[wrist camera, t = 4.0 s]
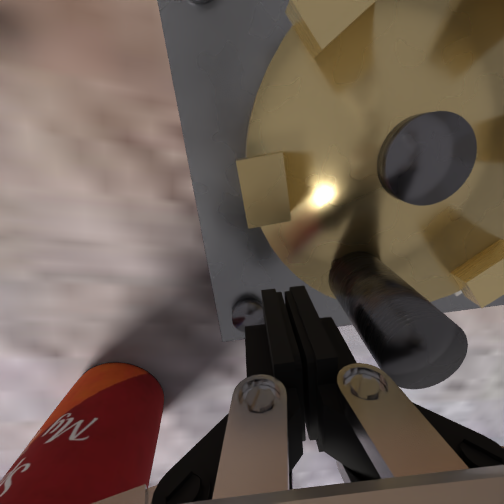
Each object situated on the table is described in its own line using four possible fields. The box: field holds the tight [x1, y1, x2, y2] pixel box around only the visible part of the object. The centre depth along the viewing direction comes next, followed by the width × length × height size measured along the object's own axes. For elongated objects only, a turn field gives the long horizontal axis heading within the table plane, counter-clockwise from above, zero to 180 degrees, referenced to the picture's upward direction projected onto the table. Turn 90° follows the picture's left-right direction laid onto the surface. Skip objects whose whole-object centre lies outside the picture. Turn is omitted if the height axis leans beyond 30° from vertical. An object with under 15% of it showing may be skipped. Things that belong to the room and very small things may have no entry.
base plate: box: [157, 0, 504, 342], centre depth 14 cm, size 18×18×3 cm
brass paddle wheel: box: [236, 0, 504, 389], centre depth 10 cm, size 13×13×7 cm
